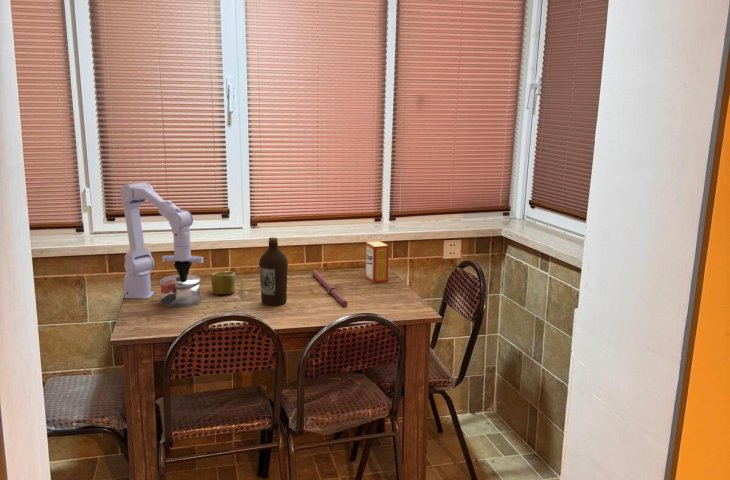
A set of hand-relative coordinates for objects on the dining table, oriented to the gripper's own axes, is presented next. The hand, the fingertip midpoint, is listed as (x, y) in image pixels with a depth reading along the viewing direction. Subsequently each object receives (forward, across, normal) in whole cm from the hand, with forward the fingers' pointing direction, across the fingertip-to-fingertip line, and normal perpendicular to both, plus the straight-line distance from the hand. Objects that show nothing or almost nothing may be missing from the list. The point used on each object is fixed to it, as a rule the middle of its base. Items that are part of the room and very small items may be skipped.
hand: (183, 281), depth 234 cm
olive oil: (+11, -31, -11) cm, 34 cm away
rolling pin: (+11, -49, -30) cm, 58 cm away
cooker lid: (+3, +5, -5) cm, 7 cm away
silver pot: (+10, +5, -5) cm, 12 cm away
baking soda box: (+11, -68, -47) cm, 83 cm away
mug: (+11, -9, -22) cm, 26 cm away
